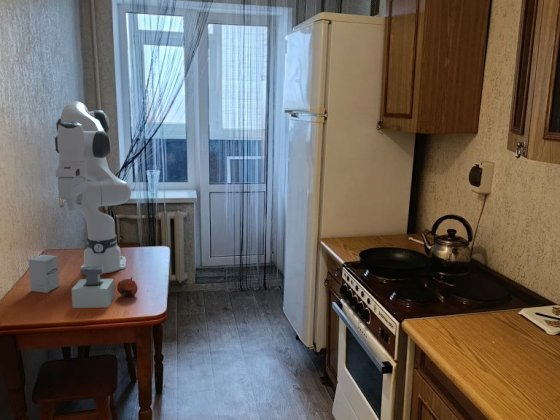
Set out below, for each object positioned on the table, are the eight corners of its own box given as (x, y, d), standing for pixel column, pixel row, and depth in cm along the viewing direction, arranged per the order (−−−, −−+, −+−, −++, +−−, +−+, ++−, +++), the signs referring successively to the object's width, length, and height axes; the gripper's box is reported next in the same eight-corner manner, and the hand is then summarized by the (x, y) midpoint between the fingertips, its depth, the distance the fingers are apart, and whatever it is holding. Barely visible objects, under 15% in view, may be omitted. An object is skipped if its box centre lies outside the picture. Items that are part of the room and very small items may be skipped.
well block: (81, 297, 174) (80, 279, 173) (114, 296, 176) (113, 278, 174) (72, 308, 165) (71, 289, 163) (108, 307, 166) (107, 288, 164)
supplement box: (47, 293, 177) (44, 261, 174) (30, 291, 178) (27, 259, 176) (60, 286, 184) (57, 255, 181) (43, 284, 185) (41, 253, 183)
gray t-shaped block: (85, 297, 171) (83, 266, 168) (105, 297, 172) (103, 266, 169) (83, 301, 168) (81, 269, 166) (103, 300, 169) (101, 269, 166)
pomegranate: (133, 306, 173) (146, 283, 179) (122, 295, 168) (136, 272, 174) (118, 304, 176) (131, 282, 182) (107, 293, 171) (120, 271, 177)
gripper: (73, 165, 174) (75, 201, 177) (53, 172, 154) (56, 213, 157) (90, 165, 175) (92, 202, 178) (73, 172, 155) (75, 213, 158)
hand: (75, 207), depth 167 cm, fingers open, 8 cm apart
